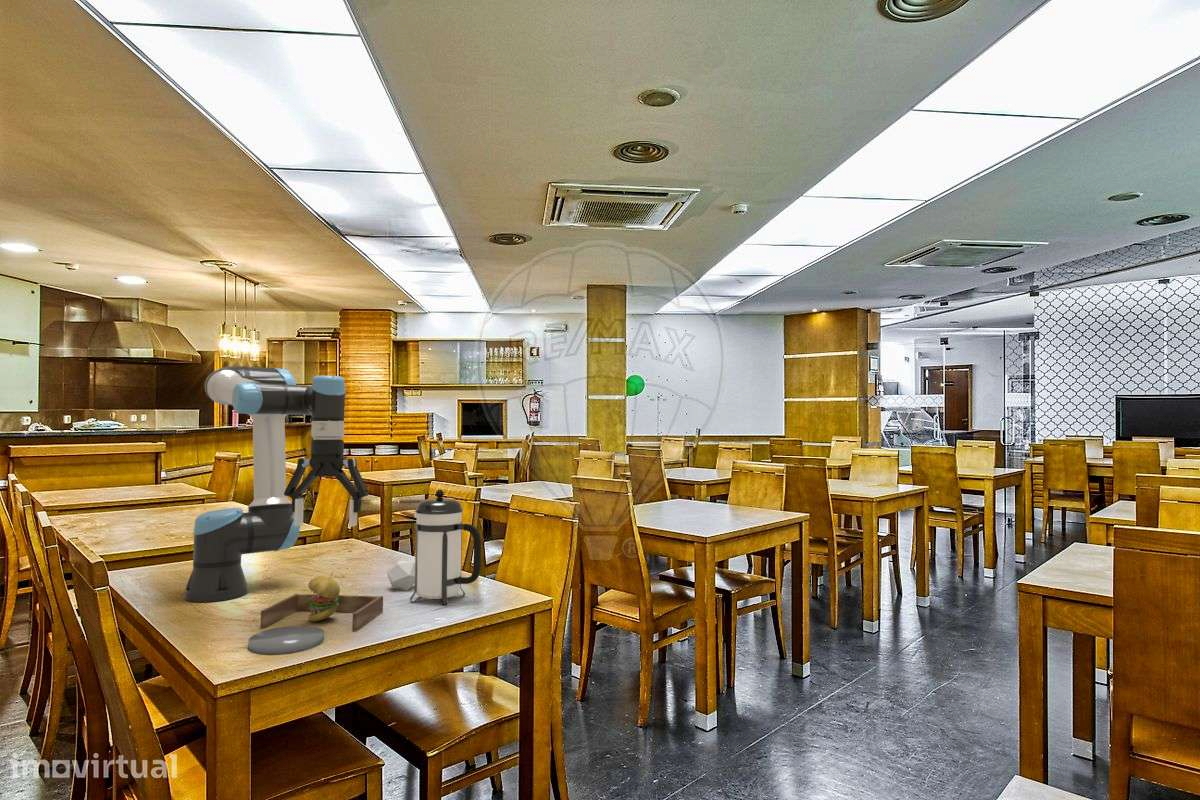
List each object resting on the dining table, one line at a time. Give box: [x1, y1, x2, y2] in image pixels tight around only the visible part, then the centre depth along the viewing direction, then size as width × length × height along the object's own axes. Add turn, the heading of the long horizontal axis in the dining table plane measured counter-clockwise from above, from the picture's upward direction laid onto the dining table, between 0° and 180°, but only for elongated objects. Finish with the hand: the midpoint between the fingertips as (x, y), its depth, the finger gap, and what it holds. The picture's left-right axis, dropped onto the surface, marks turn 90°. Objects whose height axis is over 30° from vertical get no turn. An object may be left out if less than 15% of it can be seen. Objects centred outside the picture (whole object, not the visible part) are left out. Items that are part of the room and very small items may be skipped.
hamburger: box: [307, 571, 341, 623], centre depth 166 cm, size 8×7×12 cm
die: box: [386, 560, 415, 591], centre depth 198 cm, size 8×9×10 cm
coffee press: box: [409, 489, 482, 607], centre depth 187 cm, size 17×16×30 cm
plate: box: [247, 625, 325, 655], centre depth 149 cm, size 15×15×2 cm
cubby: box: [259, 593, 384, 632], centre depth 166 cm, size 23×16×4 cm
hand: (325, 525), depth 166 cm, fingers open, 13 cm apart
